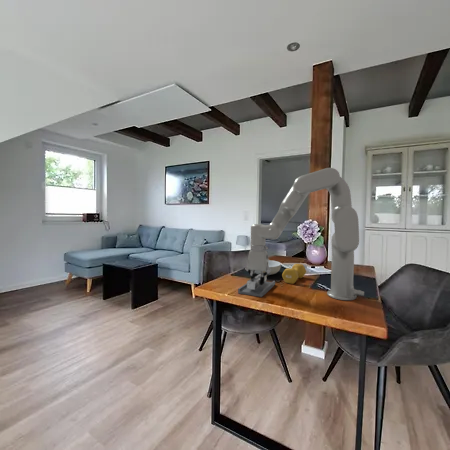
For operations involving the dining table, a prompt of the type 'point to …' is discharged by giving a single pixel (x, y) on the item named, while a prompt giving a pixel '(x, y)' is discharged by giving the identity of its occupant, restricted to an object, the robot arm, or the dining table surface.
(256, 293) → the rest tray
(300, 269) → the dumbbell
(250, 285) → the grey grooved bar
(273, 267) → the serving bowl
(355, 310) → the dining table surface
